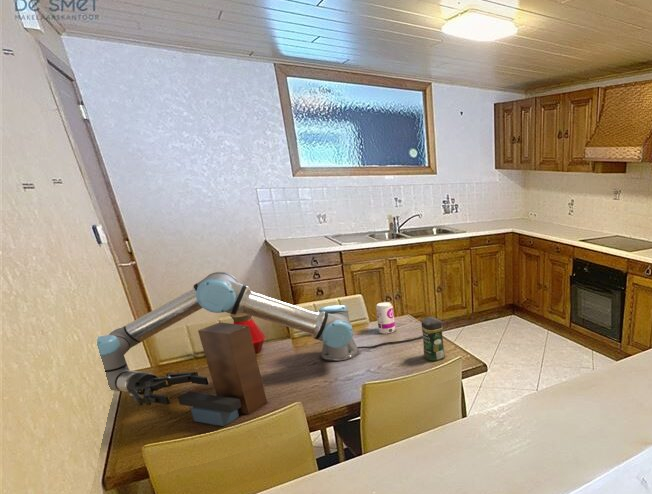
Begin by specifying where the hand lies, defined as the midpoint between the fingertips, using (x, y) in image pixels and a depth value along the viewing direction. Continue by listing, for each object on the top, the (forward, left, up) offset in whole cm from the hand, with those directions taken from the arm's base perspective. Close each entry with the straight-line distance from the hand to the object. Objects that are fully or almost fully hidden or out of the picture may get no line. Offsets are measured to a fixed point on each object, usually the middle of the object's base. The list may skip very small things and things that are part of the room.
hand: (188, 390), depth 143 cm
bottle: (-2, -56, -10) cm, 57 cm away
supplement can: (-62, -66, -10) cm, 91 cm away
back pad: (-7, +4, -5) cm, 9 cm away
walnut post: (-14, -2, -10) cm, 17 cm away
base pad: (-8, +4, -10) cm, 13 cm away
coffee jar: (-83, -27, -10) cm, 88 cm away
